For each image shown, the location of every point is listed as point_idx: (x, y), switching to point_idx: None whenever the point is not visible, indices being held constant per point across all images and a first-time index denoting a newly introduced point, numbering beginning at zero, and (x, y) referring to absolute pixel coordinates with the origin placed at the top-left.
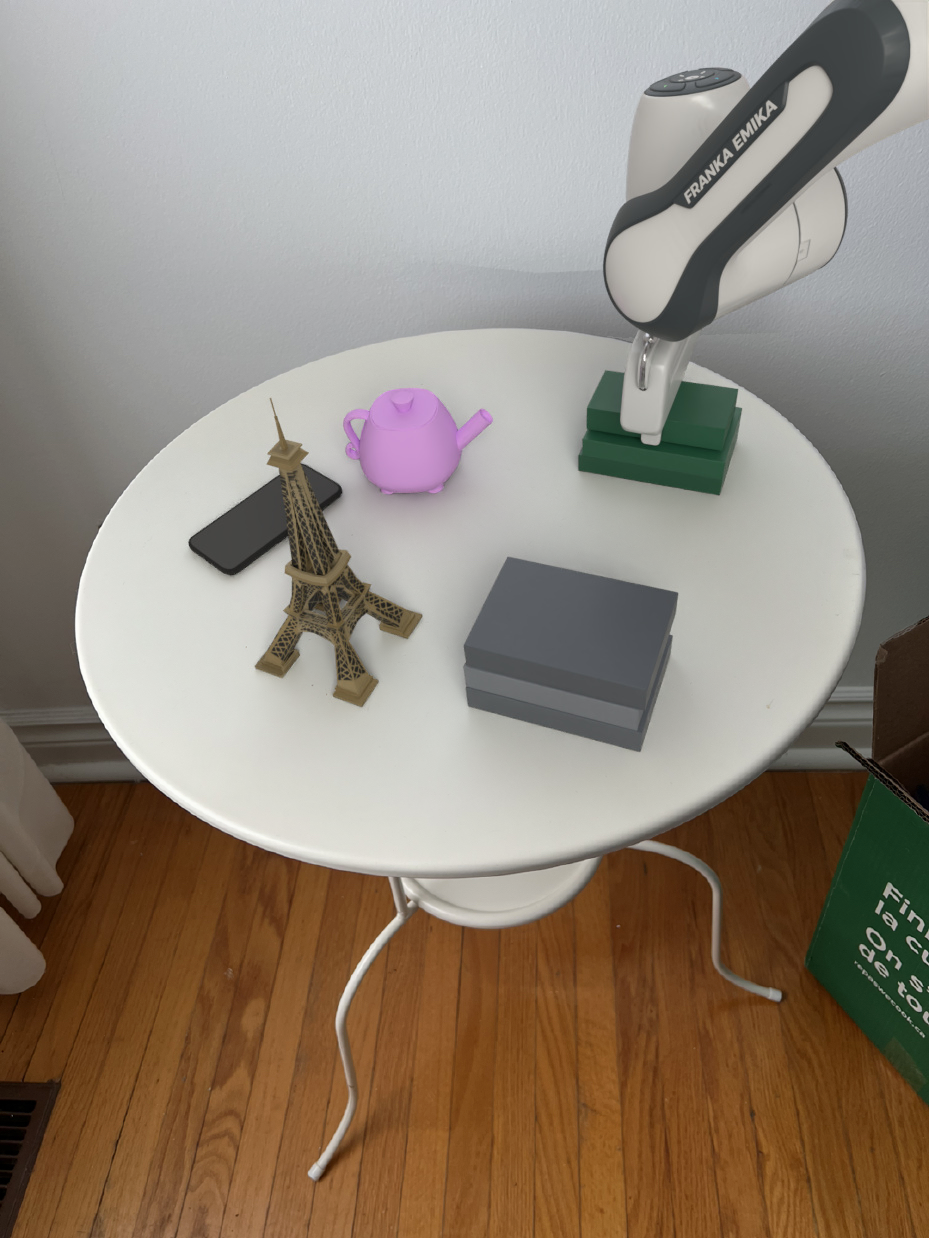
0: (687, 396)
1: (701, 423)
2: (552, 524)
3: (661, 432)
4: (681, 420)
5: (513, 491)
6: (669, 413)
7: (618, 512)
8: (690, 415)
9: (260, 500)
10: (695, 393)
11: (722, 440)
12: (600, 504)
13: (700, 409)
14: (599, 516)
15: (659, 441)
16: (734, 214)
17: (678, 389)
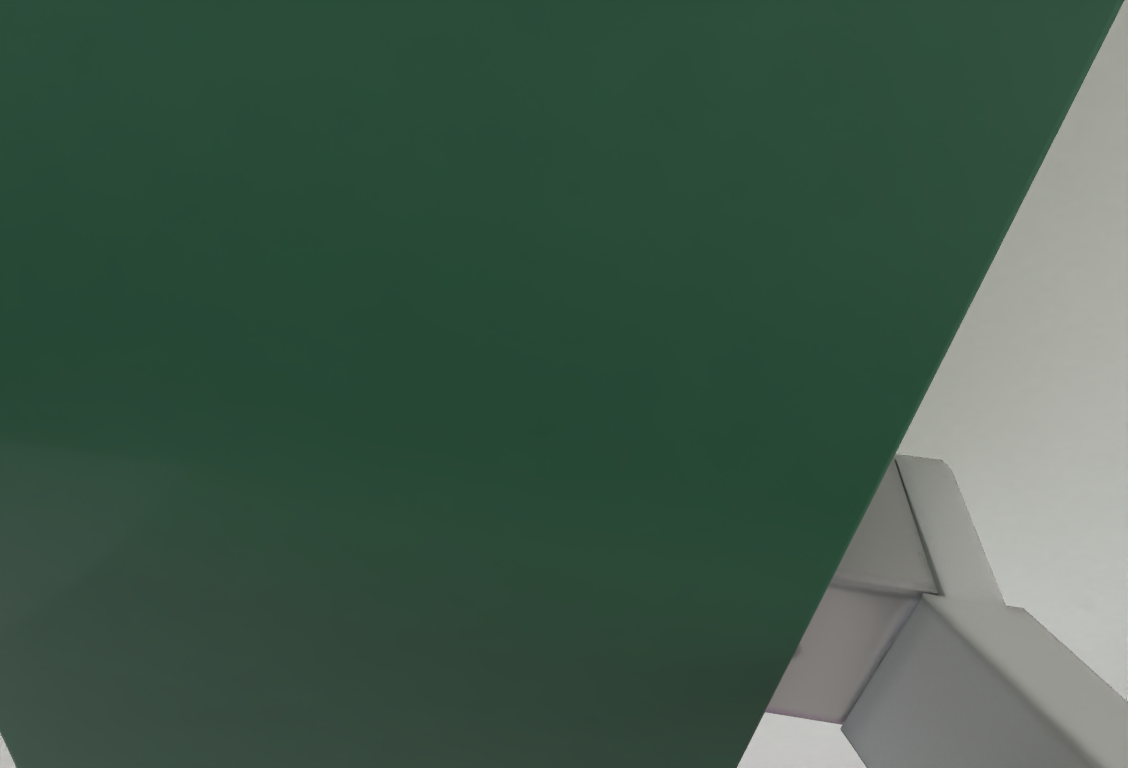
0: (212, 379)
1: (980, 149)
2: (1117, 638)
3: (940, 547)
4: (859, 440)
5: (844, 756)
6: (676, 560)
7: (1092, 386)
8: (724, 330)
9: None
10: (82, 275)
11: None
12: (994, 473)
13: (527, 182)
14: (1106, 471)
15: (953, 484)
16: None
17: (96, 486)
